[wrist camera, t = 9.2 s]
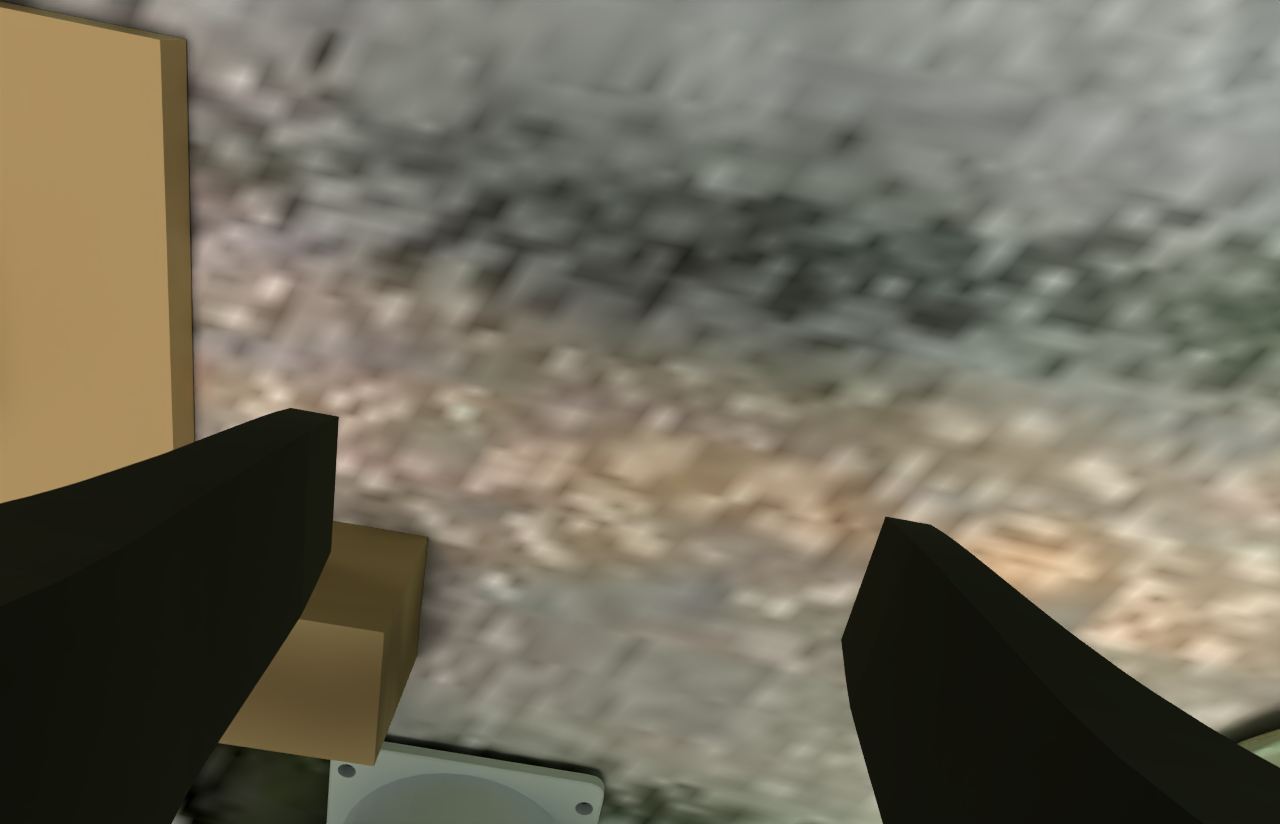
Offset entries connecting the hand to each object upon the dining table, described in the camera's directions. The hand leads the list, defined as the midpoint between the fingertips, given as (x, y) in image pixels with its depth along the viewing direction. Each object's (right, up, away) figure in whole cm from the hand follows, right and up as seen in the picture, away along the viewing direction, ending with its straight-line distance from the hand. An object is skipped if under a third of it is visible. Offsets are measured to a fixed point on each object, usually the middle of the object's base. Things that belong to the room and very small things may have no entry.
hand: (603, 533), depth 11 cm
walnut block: (-7, -3, +12) cm, 14 cm away
